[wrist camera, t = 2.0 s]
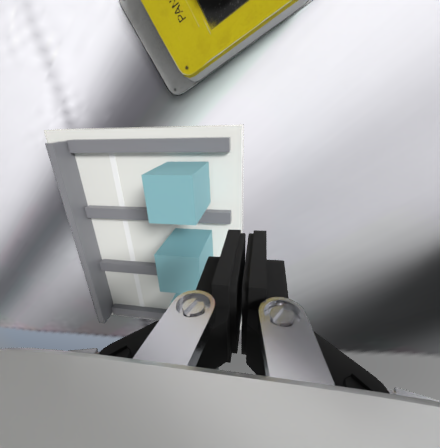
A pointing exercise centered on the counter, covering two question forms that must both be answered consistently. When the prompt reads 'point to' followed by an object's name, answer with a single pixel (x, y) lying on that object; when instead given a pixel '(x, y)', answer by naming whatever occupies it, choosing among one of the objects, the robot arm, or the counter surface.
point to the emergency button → (202, 33)
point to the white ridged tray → (138, 204)
